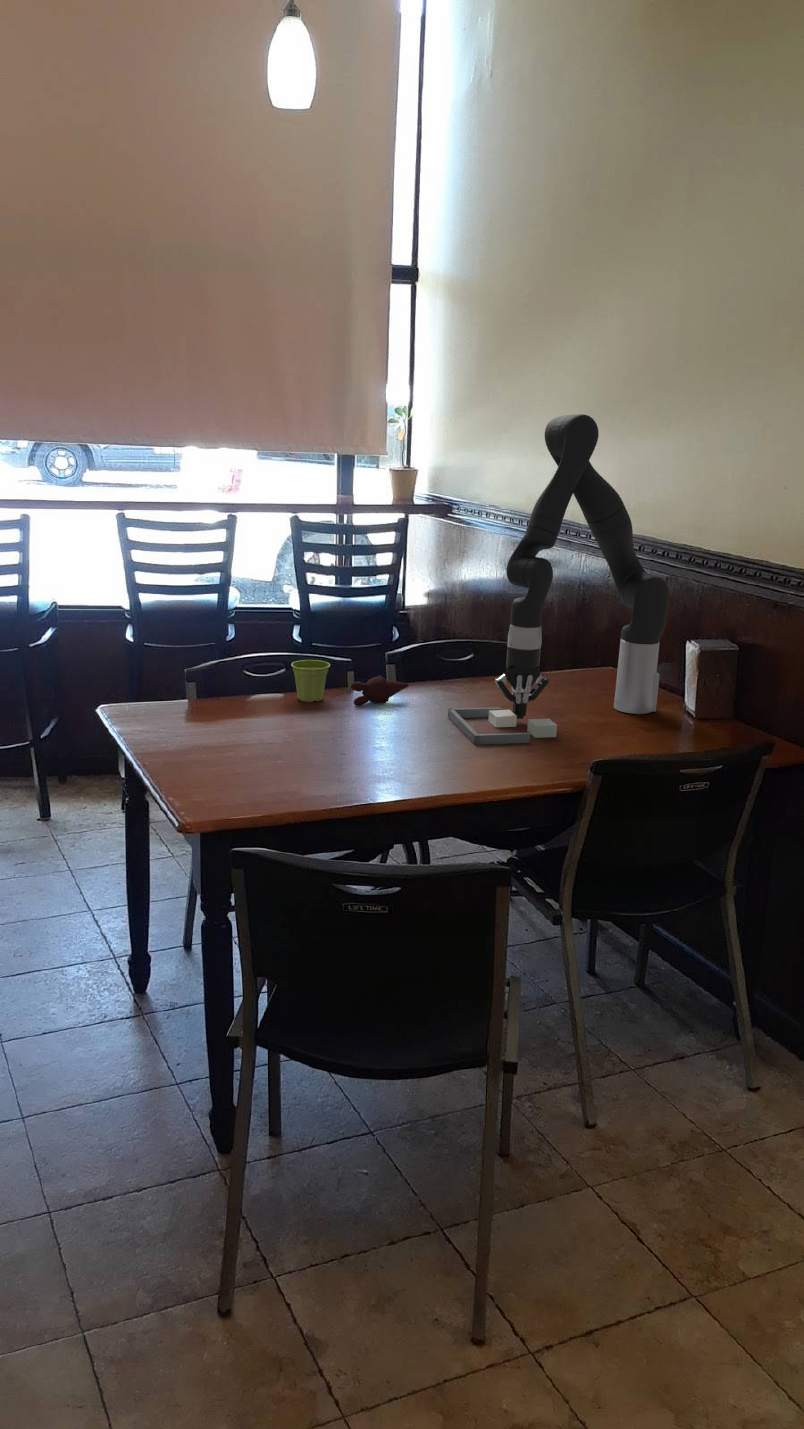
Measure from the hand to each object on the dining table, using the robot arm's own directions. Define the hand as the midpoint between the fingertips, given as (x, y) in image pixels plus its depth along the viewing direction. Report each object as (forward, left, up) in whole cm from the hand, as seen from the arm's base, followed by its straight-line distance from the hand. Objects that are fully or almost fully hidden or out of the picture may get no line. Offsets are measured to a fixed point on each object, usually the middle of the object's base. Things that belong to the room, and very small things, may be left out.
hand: (518, 717), depth 257 cm
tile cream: (+4, 0, -2) cm, 4 cm away
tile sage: (-2, +9, -1) cm, 9 cm away
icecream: (+28, -19, -1) cm, 34 cm away
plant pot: (+45, -24, -1) cm, 51 cm away
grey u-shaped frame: (+9, +4, -1) cm, 10 cm away
